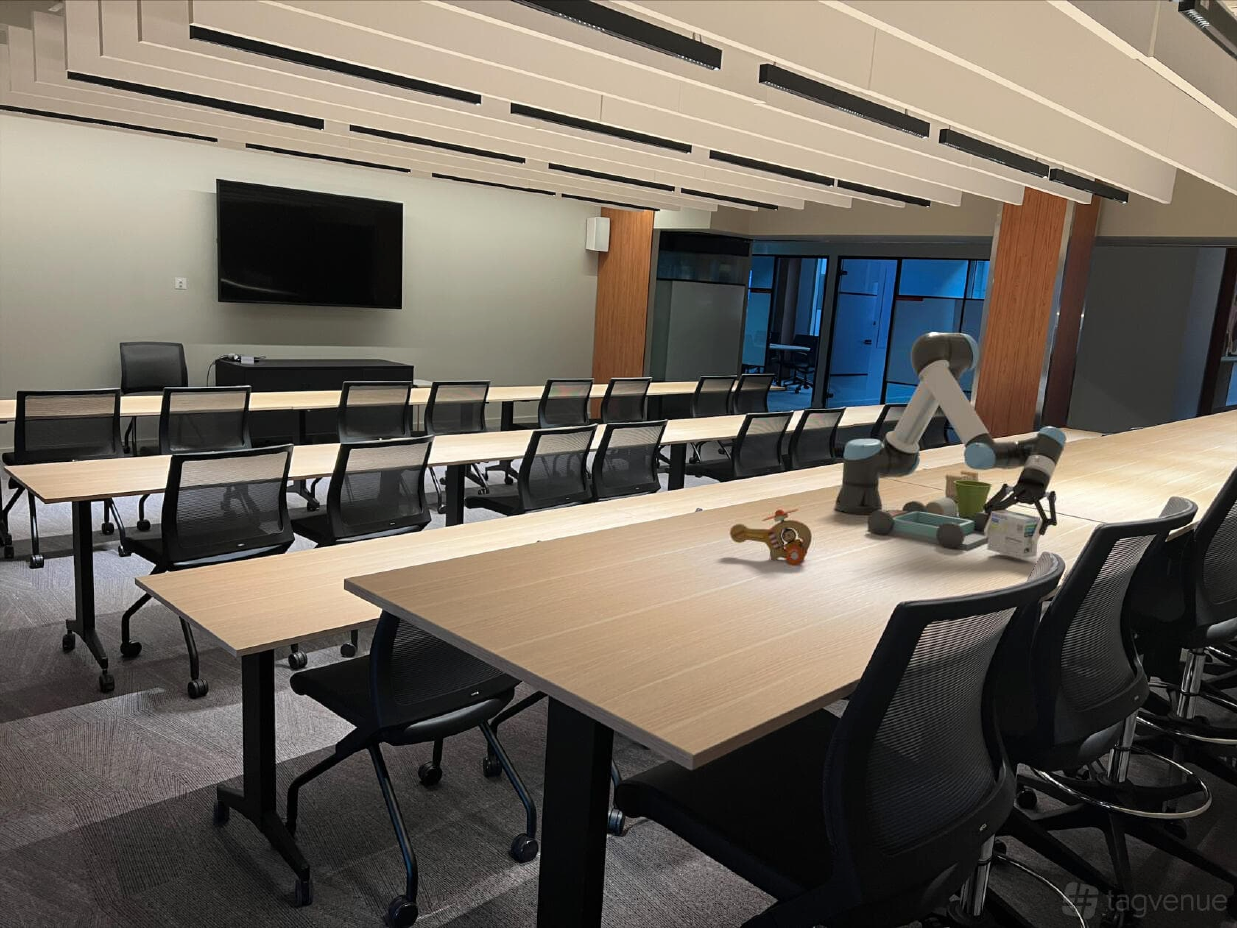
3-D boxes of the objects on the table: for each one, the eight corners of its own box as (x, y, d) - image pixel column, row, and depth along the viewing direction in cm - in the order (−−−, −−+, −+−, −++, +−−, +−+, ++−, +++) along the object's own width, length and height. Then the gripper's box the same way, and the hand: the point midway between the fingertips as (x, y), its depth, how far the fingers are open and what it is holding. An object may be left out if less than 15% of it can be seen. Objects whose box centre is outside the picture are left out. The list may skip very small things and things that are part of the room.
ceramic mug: (921, 521, 287) (923, 497, 286) (936, 518, 292) (938, 495, 291) (950, 528, 279) (953, 504, 278) (965, 525, 284) (968, 501, 283)
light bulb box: (1036, 556, 241) (1041, 517, 239) (1021, 559, 237) (1026, 519, 235) (1000, 547, 250) (1005, 508, 248) (985, 549, 246) (990, 510, 244)
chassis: (863, 531, 270) (865, 508, 269) (901, 520, 288) (903, 498, 287) (963, 551, 250) (965, 526, 249) (997, 537, 268) (999, 514, 267)
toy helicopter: (807, 566, 228) (811, 513, 226) (726, 557, 234) (729, 505, 232) (811, 559, 235) (815, 507, 233) (732, 550, 242) (735, 499, 240)
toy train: (978, 499, 331) (980, 471, 329) (958, 504, 319) (961, 476, 317) (963, 496, 335) (965, 469, 333) (943, 502, 323) (945, 474, 321)
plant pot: (996, 518, 296) (1000, 484, 295) (974, 522, 290) (978, 487, 288) (965, 511, 306) (968, 478, 304) (943, 514, 299) (946, 481, 298)
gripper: (989, 460, 255) (961, 521, 246) (1081, 473, 239) (1054, 539, 231) (994, 477, 260) (967, 537, 251) (1084, 490, 244) (1059, 555, 235)
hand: (1009, 538), depth 241 cm, fingers closed on light bulb box, 12 cm apart
